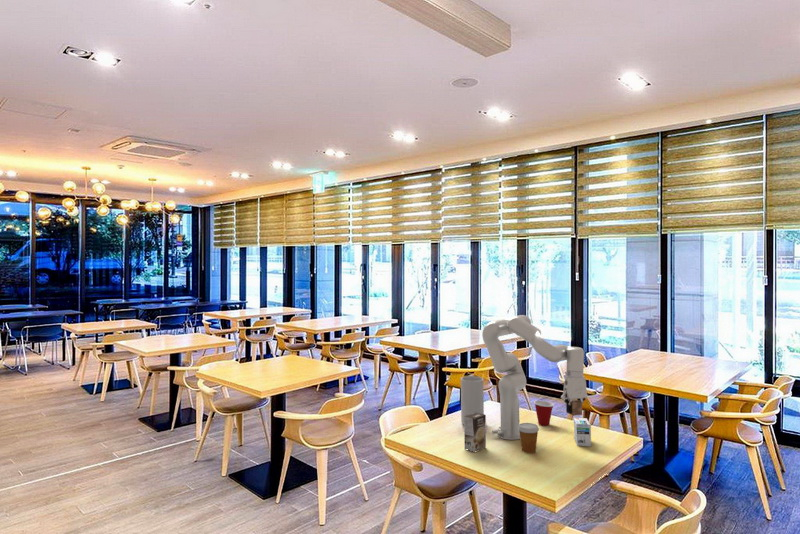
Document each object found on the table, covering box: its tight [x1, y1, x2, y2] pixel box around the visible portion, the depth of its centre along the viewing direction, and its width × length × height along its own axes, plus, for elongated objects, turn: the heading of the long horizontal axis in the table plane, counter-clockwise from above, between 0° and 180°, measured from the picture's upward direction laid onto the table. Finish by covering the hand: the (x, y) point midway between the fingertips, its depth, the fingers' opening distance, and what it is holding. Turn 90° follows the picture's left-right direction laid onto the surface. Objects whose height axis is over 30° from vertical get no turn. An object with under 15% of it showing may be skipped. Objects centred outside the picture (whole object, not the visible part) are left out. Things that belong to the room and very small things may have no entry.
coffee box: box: [463, 413, 487, 453], centre depth 238 cm, size 9×6×16 cm
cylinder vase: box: [460, 375, 485, 425], centre depth 277 cm, size 12×12×25 cm
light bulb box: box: [573, 417, 592, 447], centre depth 244 cm, size 11×7×11 cm, turn 168°
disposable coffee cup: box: [518, 422, 540, 454], centre depth 234 cm, size 10×10×12 cm
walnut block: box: [565, 399, 583, 417], centre depth 233 cm, size 5×5×6 cm
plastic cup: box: [533, 400, 555, 427], centre depth 273 cm, size 11×11×12 cm
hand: (574, 411), depth 233 cm, fingers closed on walnut block, 5 cm apart
